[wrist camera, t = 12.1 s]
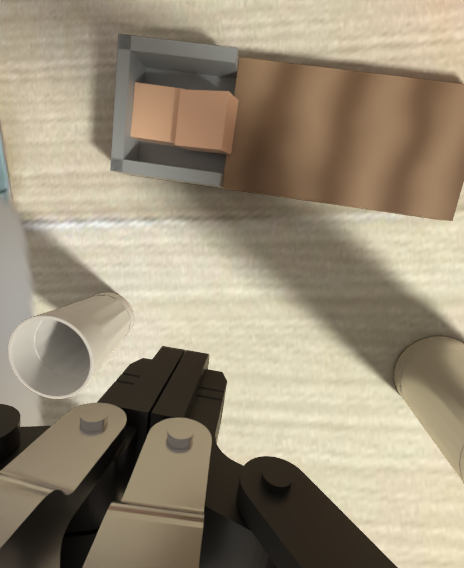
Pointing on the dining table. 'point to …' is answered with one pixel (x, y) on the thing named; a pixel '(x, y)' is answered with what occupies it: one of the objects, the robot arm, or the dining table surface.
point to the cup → (69, 344)
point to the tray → (172, 73)
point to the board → (348, 138)
